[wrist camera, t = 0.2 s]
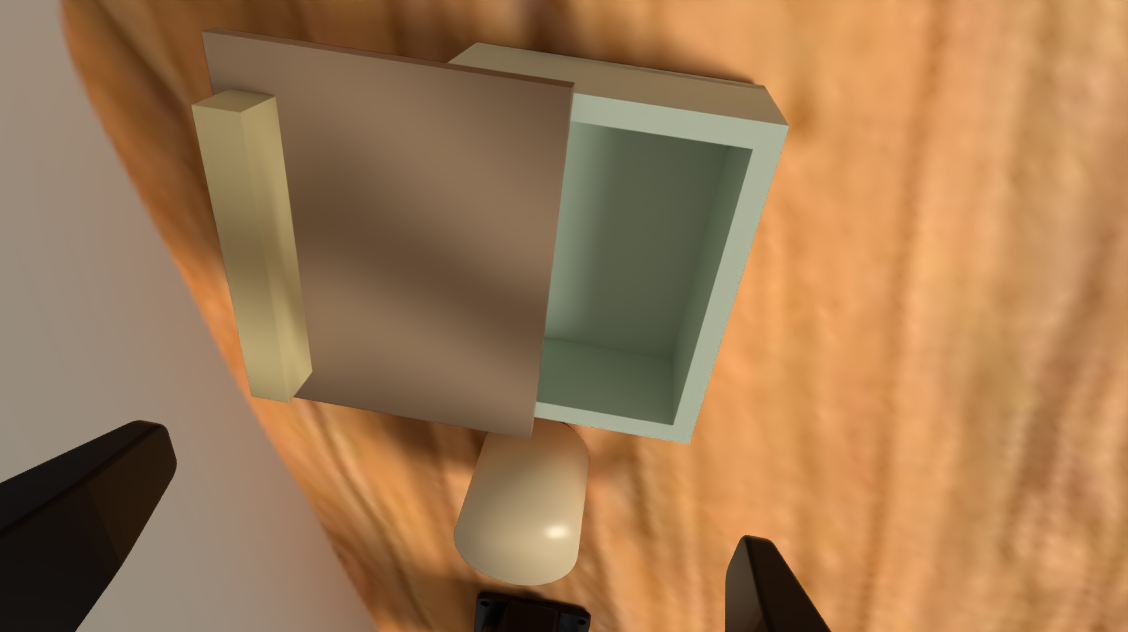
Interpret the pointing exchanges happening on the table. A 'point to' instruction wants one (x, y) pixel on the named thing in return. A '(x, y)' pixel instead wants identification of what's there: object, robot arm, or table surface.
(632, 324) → the box body
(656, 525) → the table surface
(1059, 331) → the table surface
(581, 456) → the dome-topped beige cylinder
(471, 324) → the lid
